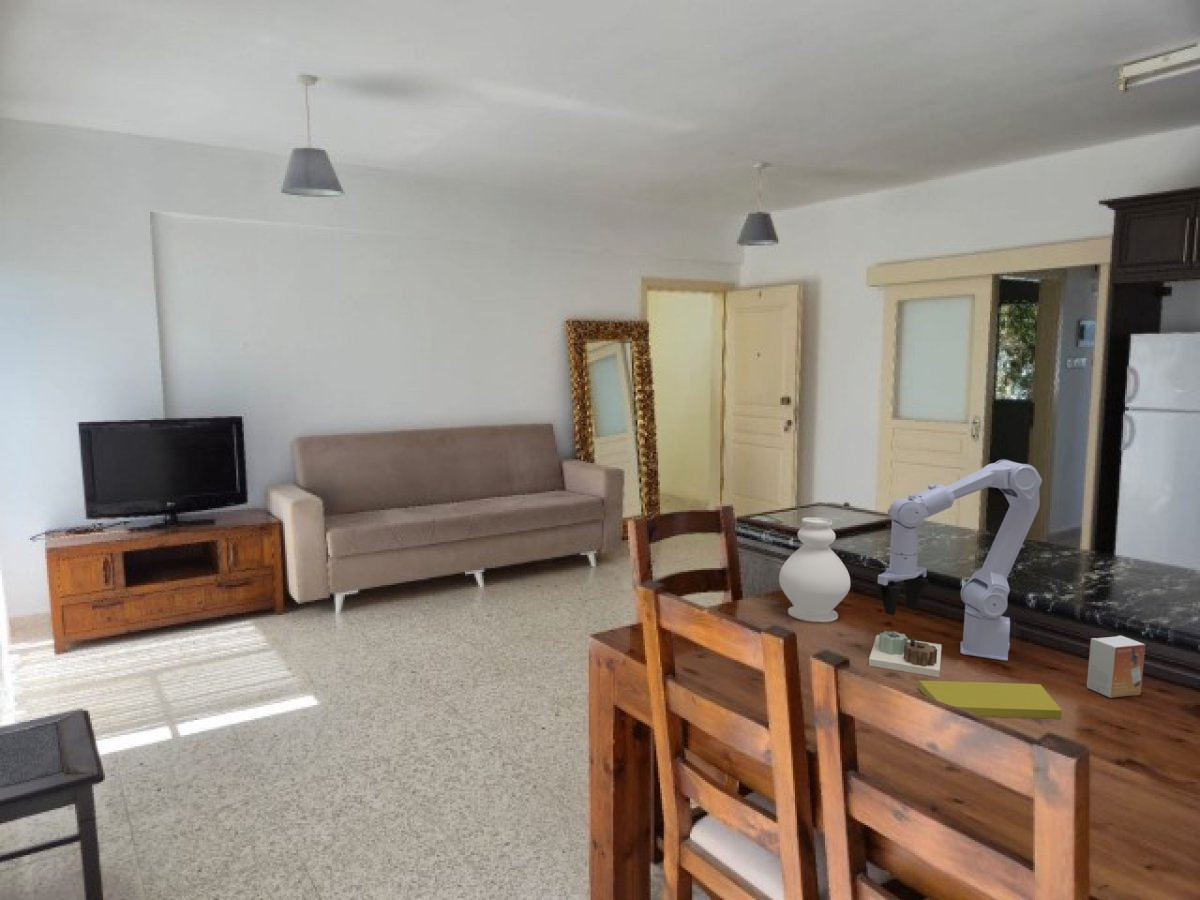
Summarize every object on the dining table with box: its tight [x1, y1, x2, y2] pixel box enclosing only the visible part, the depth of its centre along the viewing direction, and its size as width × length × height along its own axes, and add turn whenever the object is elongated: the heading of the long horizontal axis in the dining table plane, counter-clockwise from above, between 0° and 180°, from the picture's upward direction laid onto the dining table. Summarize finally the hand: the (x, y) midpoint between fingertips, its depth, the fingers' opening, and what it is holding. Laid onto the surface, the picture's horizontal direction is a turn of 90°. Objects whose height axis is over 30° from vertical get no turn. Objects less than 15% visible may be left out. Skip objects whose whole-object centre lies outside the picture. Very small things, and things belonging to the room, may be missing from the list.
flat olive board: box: [917, 679, 1062, 720], centre depth 150 cm, size 12×2×24 cm
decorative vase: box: [778, 516, 851, 623], centre depth 201 cm, size 18×18×25 cm
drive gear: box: [904, 637, 937, 666], centre depth 167 cm, size 6×6×4 cm
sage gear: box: [879, 630, 909, 655], centre depth 173 cm, size 6×6×3 cm
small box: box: [1086, 635, 1146, 699], centre depth 156 cm, size 8×6×10 cm
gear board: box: [868, 633, 942, 678], centre depth 172 cm, size 14×17×6 cm
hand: (900, 611), depth 176 cm, fingers open, 7 cm apart
